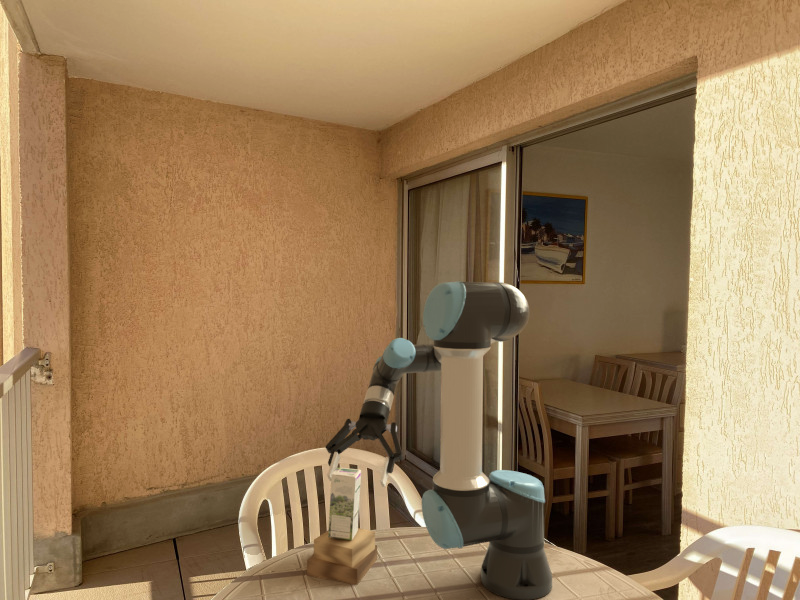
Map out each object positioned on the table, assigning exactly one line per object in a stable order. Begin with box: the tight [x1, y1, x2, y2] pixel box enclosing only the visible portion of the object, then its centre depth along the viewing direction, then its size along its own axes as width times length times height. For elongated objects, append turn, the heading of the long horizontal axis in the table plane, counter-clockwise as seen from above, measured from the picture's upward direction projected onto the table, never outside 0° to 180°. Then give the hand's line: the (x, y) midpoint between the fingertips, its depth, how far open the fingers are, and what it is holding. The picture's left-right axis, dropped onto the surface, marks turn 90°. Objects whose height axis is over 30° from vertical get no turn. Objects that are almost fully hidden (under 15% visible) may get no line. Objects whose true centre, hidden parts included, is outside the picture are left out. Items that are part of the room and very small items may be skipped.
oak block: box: [313, 527, 376, 567], centre depth 128 cm, size 10×10×4 cm
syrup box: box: [327, 467, 362, 540], centre depth 128 cm, size 6×6×14 cm
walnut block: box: [306, 544, 378, 585], centre depth 129 cm, size 12×12×4 cm
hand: (355, 481), depth 137 cm, fingers open, 13 cm apart
